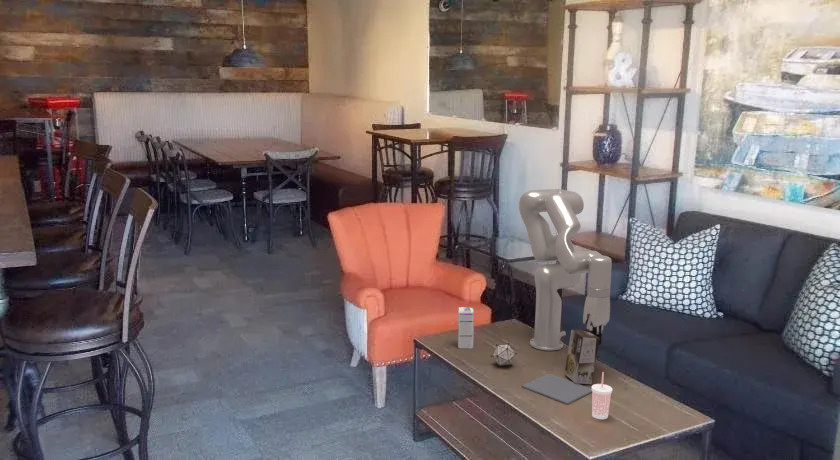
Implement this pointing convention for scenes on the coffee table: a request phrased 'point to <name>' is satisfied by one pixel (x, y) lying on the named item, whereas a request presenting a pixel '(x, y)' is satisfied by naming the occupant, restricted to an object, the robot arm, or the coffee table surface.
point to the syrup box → (465, 327)
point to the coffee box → (582, 356)
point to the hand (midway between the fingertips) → (595, 343)
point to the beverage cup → (601, 400)
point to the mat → (557, 388)
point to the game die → (503, 354)
